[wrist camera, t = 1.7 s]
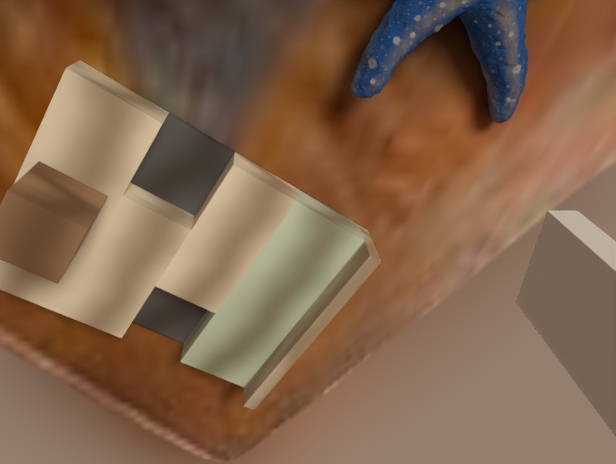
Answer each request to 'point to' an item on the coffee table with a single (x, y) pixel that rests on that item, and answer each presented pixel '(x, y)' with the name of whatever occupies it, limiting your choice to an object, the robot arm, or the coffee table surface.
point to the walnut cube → (46, 221)
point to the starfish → (483, 39)
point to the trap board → (190, 238)
